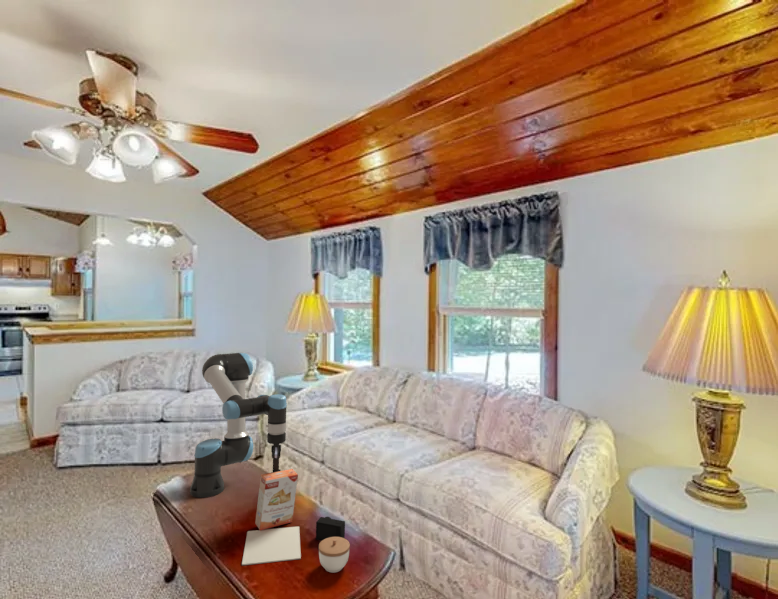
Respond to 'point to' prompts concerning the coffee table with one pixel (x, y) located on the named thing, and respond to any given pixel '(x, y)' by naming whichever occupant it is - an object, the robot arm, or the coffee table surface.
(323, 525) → the digital camera
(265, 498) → the cracker box
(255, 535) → the mat
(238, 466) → the coffee table surface
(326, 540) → the lidded jar
